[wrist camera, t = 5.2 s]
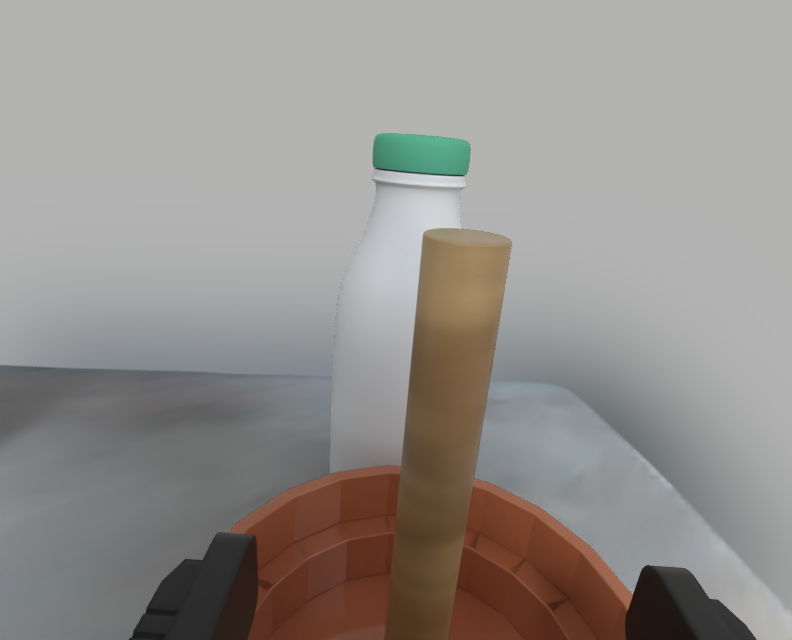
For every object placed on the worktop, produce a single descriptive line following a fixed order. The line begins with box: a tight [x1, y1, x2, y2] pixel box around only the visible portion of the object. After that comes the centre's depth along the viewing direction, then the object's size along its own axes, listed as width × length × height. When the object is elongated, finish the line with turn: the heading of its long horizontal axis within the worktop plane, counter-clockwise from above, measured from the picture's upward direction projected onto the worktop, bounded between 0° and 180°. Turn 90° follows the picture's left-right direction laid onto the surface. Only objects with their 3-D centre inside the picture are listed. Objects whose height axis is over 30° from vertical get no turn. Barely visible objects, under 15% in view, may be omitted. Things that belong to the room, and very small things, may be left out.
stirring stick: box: [384, 228, 512, 640], centre depth 13 cm, size 4×4×17 cm
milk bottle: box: [330, 133, 470, 474], centre depth 25 cm, size 8×8×20 cm
